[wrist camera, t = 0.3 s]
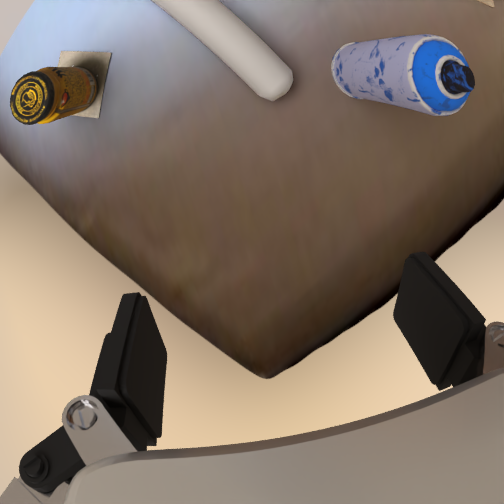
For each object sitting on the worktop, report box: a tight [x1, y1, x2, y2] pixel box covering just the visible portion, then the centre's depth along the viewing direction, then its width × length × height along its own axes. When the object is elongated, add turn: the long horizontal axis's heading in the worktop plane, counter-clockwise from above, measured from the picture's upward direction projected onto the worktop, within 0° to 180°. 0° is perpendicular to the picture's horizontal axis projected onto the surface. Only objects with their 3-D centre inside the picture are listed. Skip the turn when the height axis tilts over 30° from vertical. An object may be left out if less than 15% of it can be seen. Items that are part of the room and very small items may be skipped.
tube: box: [151, 0, 293, 101], centre depth 27 cm, size 5×5×25 cm
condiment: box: [10, 51, 111, 125], centre depth 25 cm, size 7×8×12 cm
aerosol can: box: [331, 34, 475, 116], centre depth 25 cm, size 8×8×20 cm
